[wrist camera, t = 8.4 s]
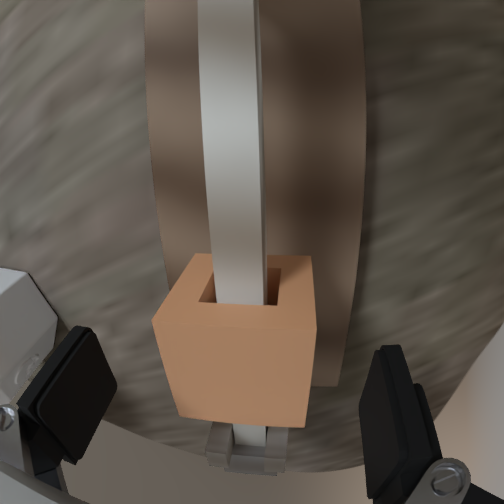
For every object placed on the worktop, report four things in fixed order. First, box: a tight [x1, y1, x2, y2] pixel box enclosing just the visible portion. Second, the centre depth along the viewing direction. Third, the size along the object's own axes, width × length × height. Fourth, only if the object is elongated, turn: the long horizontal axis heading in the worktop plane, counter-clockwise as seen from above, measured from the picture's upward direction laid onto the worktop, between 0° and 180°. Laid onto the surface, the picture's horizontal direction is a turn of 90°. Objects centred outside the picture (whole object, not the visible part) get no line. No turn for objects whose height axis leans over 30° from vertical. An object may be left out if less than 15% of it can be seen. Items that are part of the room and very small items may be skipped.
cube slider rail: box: [145, 0, 366, 476], centre depth 12 cm, size 28×10×8 cm, turn 2°
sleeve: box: [152, 253, 317, 428], centre depth 12 cm, size 5×5×5 cm
